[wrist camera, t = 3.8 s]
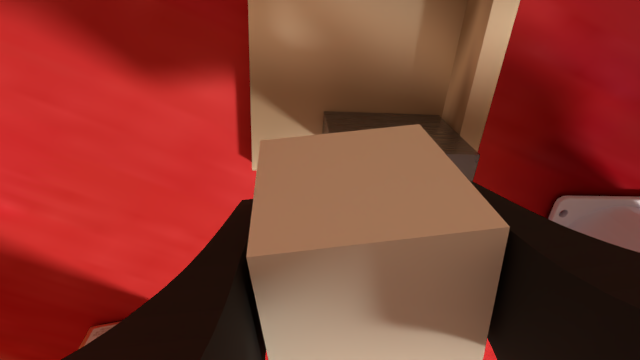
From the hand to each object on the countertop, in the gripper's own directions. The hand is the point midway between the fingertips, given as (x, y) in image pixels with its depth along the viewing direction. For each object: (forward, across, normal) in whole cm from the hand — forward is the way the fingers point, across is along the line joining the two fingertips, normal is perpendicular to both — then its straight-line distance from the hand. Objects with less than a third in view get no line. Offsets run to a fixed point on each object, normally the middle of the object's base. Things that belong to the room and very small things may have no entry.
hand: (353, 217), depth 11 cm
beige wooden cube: (+2, 0, 0) cm, 2 cm away
